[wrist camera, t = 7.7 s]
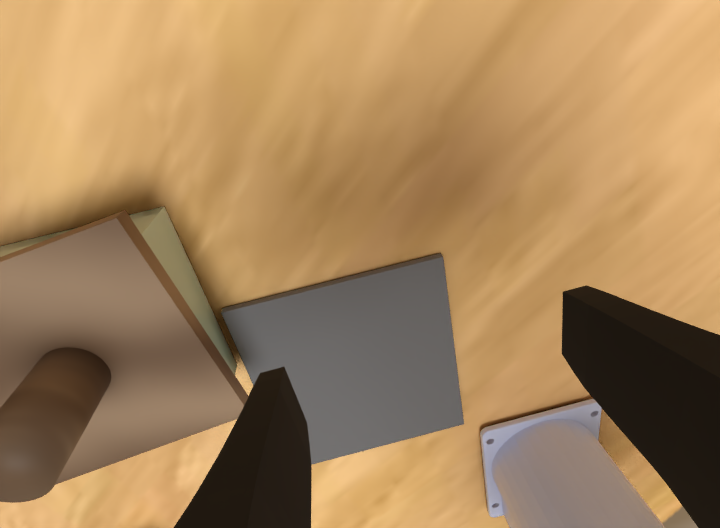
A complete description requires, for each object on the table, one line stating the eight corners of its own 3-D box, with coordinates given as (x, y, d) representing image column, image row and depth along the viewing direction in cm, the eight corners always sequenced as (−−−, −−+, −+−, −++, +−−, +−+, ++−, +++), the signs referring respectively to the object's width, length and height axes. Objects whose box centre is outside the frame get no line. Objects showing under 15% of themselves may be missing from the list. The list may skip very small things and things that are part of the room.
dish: (236, 364, 22) (229, 407, 19) (67, 407, 22) (36, 457, 19) (164, 206, 18) (141, 234, 15) (-48, 258, 17) (-109, 295, 15)
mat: (461, 418, 26) (464, 424, 26) (291, 464, 26) (291, 469, 26) (440, 253, 21) (443, 256, 20) (222, 308, 20) (221, 313, 20)
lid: (251, 400, 19) (238, 510, 15) (53, 472, 20) (-20, 601, 15) (125, 209, 15) (48, 283, 10) (-134, 308, 15) (-325, 423, 10)
